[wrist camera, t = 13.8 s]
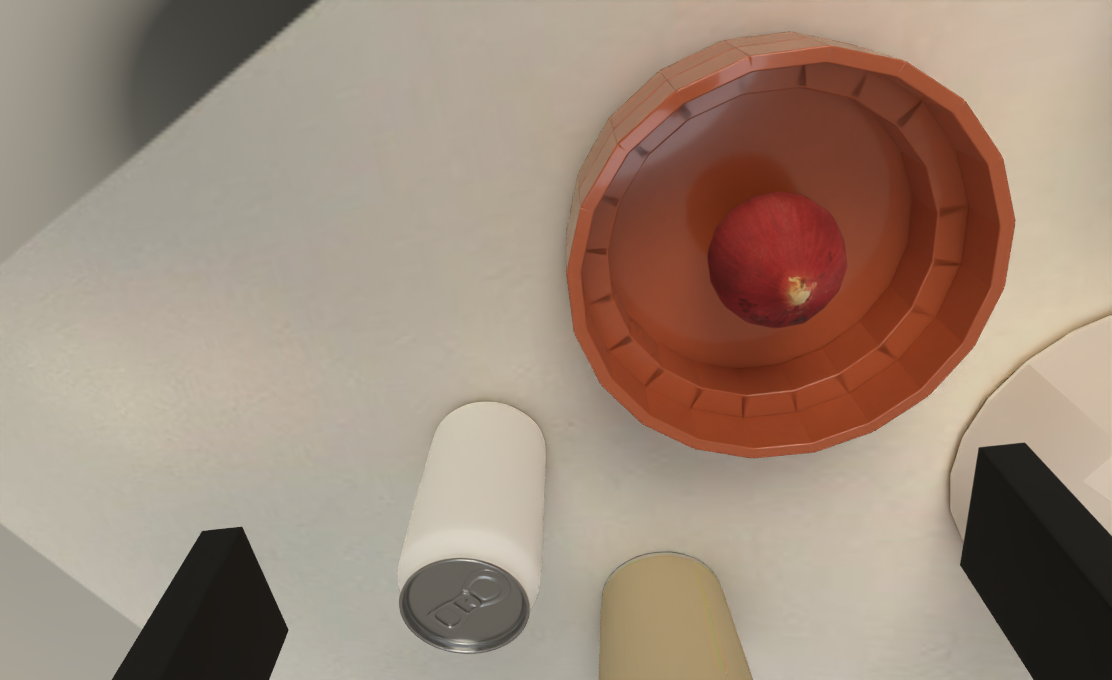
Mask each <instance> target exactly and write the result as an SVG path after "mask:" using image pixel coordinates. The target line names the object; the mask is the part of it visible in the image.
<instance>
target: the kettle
mask: <svg viewBox="0 0 1112 680" xmlns="http://www.w3.org/2000/svg"><path fill="white" fill-rule="evenodd" d="M1023 442H1025V443H1026V444H1027V445H1028V446H1029V447H1030V448H1031V449H1032V450H1033V452H1034V453H1035V454H1036V455H1037V456H1038V457H1039V458H1040V459H1041V460H1042V461H1043V462H1044V463H1045V464H1046V466H1047V467H1048V468H1049V469H1050V470H1051V471H1052V472H1053V473H1054V474H1055V475H1056V476H1057V477H1058V478H1059V480H1060V481H1061V482H1062V483H1063V484H1064V485H1065V486H1066V487H1067V488H1068V489H1069V490H1070V491H1071V492H1072V494H1073V495H1074V496H1075V497H1076V498H1077V499H1078V500H1079V501H1080V502H1081V503H1082V504H1083V505H1084V506H1085V508H1086V509H1087V510H1088V511H1089V512H1090V513H1091V514H1092V515H1093V516H1094V517H1095V518H1096V519H1097V520H1098V522H1099V523H1100V524H1101V525H1102V526H1103V527H1104V528H1105V529H1106V530H1107V531H1108V532H1109V533H1110V534H1111V536H1112V315H1110V316H1108V317H1105V318H1103V319H1100V320H1098V321H1095V322H1093V323H1091V324H1088V325H1086V326H1083V327H1081V328H1078V329H1076V330H1074V331H1072V332H1071V333H1069V334H1067V335H1066V336H1064V337H1063V338H1061V339H1060V340H1058V341H1057V342H1055V343H1054V344H1052V345H1050V346H1049V347H1047V348H1046V349H1044V350H1043V351H1041V352H1040V353H1038V354H1037V355H1035V356H1034V357H1032V358H1030V359H1029V360H1027V361H1026V362H1025V363H1024V364H1023V365H1022V366H1021V367H1020V368H1019V369H1018V370H1017V371H1016V372H1015V373H1014V374H1012V375H1011V376H1010V377H1009V378H1008V379H1007V380H1006V381H1005V382H1004V383H1003V384H1002V385H1001V386H1000V387H999V388H998V389H997V390H996V391H995V392H994V393H993V394H992V395H991V396H990V397H989V398H988V399H987V401H986V402H985V404H984V405H983V407H982V408H981V410H980V411H979V413H978V414H977V416H976V417H975V419H974V420H973V422H972V423H971V425H970V427H969V428H968V430H967V431H966V433H965V434H964V436H963V438H962V441H961V444H960V447H959V450H958V453H957V456H956V459H955V462H954V465H953V468H952V471H951V474H950V510H951V512H952V515H953V518H954V520H955V523H956V525H957V528H958V530H959V533H960V535H961V538H962V540H963V541H964V537H965V531H966V525H967V518H968V512H969V505H970V499H971V493H972V486H973V480H974V474H975V467H976V461H977V454H978V448H979V447H986V446H996V445H1005V444H1014V443H1023Z"/></svg>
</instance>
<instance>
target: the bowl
mask: <svg viewBox="0 0 1112 680" xmlns="http://www.w3.org/2000/svg"><path fill="white" fill-rule="evenodd" d="M778 191H782V192H788V193H794V194H800V195H804V196H806V197H808V198H809V199H811V200H813V201H814V202H816V203H817V204H819V205H820V206H822V207H823V208H824V209H826V210H827V211H829V212H830V213H831V215H832V216H833V218H834V219H835V221H836V223H837V225H838V227H839V229H840V231H841V233H842V235H843V237H844V240H845V249H846V258H847V270H846V272H845V275H844V278H843V281H842V284H841V287H840V290H839V292H838V293H837V294H836V295H835V296H834V297H833V298H832V299H831V301H830V302H829V303H828V304H827V306H826V307H825V308H824V309H823V310H821V311H820V312H818V313H817V314H816V315H814V316H813V317H812V318H810V319H809V320H808V321H807V322H805V323H803V324H798V325H793V326H787V327H782V328H770V327H765V326H760V325H755V324H750V323H748V322H746V321H744V320H742V319H741V318H740V317H738V316H737V315H736V314H734V313H733V312H732V311H730V310H729V309H727V308H726V307H725V306H724V304H723V303H722V302H721V301H720V299H719V297H718V295H717V293H716V291H715V289H714V287H713V285H712V284H711V281H710V274H709V266H708V250H709V247H710V243H711V240H712V237H713V234H714V231H715V228H716V227H717V226H718V224H719V223H720V222H721V221H722V220H723V219H724V218H725V216H726V215H727V214H728V213H729V212H730V211H731V209H733V208H734V207H736V206H738V205H740V204H742V203H743V202H745V201H747V200H749V199H751V198H752V197H754V196H758V195H763V194H768V193H773V192H778ZM1014 228H1015V216H1014V211H1013V206H1012V201H1011V196H1010V191H1009V186H1008V181H1007V176H1006V171H1005V165H1004V160H1003V157H1002V155H1001V154H1000V152H999V151H998V149H997V148H996V146H995V145H994V143H993V142H992V140H991V139H990V137H989V136H988V134H987V133H986V131H985V130H984V128H983V127H982V125H981V124H980V122H979V121H978V119H977V118H976V116H975V115H974V113H973V112H972V110H971V109H970V107H969V106H968V104H967V103H966V101H964V99H962V98H961V97H959V96H958V95H956V94H955V93H953V92H952V91H950V90H949V89H947V88H946V87H944V86H943V85H941V84H940V83H938V82H937V81H935V80H934V79H932V78H931V77H929V76H928V75H926V74H925V73H923V72H921V71H920V70H918V69H917V68H915V67H914V66H912V65H911V64H909V63H908V62H906V61H903V60H901V59H897V58H894V57H891V56H888V55H885V54H882V53H878V52H875V51H872V50H869V49H865V48H862V47H859V46H856V45H852V44H848V43H843V42H838V41H834V40H829V39H824V38H819V37H815V36H810V35H805V34H800V33H796V32H783V33H775V34H768V35H760V36H753V37H745V38H738V39H730V40H724V41H720V42H718V43H716V44H714V45H712V46H710V47H708V48H706V49H704V50H702V51H700V52H698V53H695V54H693V55H691V56H689V57H687V58H685V59H683V60H681V61H679V62H677V63H675V64H673V65H670V66H668V67H666V68H664V69H662V70H661V71H660V72H658V73H657V74H656V75H655V76H654V77H653V78H651V79H650V80H649V81H648V82H647V83H646V84H645V85H644V86H643V87H642V88H641V89H640V90H639V91H637V92H636V93H635V94H634V95H633V96H632V97H631V98H630V99H629V100H628V101H627V102H626V103H625V104H624V105H622V106H621V107H620V108H619V109H618V110H617V111H616V112H615V113H614V114H613V115H612V116H611V117H610V118H609V119H608V121H607V123H606V125H605V126H604V128H603V130H602V132H601V134H600V135H599V137H598V139H597V141H596V142H595V144H594V146H593V148H592V149H591V151H590V153H589V155H588V156H587V158H586V160H585V162H584V163H583V165H582V167H581V169H580V170H579V174H578V177H577V182H576V186H575V191H574V196H573V201H572V206H571V211H570V216H569V220H568V225H567V249H566V275H567V283H568V290H569V298H570V306H571V314H572V321H573V329H574V333H575V336H576V338H577V340H578V342H579V344H580V346H581V348H582V350H583V351H584V353H585V355H586V357H587V359H588V361H589V363H590V365H591V367H592V369H593V371H594V373H595V375H596V377H597V379H598V381H599V383H600V384H601V385H602V386H603V387H604V388H605V389H606V390H607V391H608V392H609V393H610V394H611V395H612V396H613V397H614V398H615V399H616V400H617V401H618V402H619V403H621V404H622V405H623V406H624V407H625V408H626V409H627V410H628V411H629V412H630V413H631V414H632V415H633V416H634V417H635V418H636V419H637V420H638V421H639V422H641V423H642V424H643V425H645V426H647V427H649V428H652V429H654V430H656V431H658V432H660V433H662V434H664V435H666V436H668V437H670V438H672V439H675V440H677V441H679V442H681V443H683V444H685V445H687V446H689V447H691V448H694V449H698V450H704V451H710V452H716V453H722V454H728V455H734V456H740V457H746V458H762V457H773V456H783V455H794V454H805V453H813V452H817V451H820V450H823V449H826V448H829V447H832V446H834V445H837V444H840V443H843V442H846V441H849V440H852V439H855V438H857V437H860V436H863V435H866V434H869V433H872V432H873V431H876V430H877V429H879V428H880V427H882V426H883V425H885V424H886V423H888V422H890V421H891V420H893V419H894V418H896V417H897V416H899V415H900V414H902V413H903V412H905V411H906V410H908V409H910V408H911V407H913V406H914V405H916V404H917V403H919V402H920V401H922V400H923V399H925V398H927V397H928V395H930V394H931V393H932V392H933V391H934V390H935V389H936V388H937V387H938V386H939V385H940V383H941V382H942V381H943V380H944V379H945V378H946V377H947V376H948V375H949V374H950V373H951V372H952V370H953V369H954V368H955V367H956V366H957V365H958V364H959V363H960V362H961V361H962V360H963V359H964V357H965V356H966V355H967V354H968V353H969V352H970V351H971V350H972V349H973V346H975V344H976V343H977V341H978V339H979V337H980V335H981V333H982V331H983V329H984V327H985V325H986V323H987V321H988V319H989V317H990V315H991V313H992V311H993V309H994V307H995V305H996V303H997V302H998V300H999V298H1000V296H1001V294H1002V292H1003V290H1004V287H1005V282H1006V276H1007V270H1008V264H1009V258H1010V252H1011V246H1012V240H1013V234H1014Z"/></svg>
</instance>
